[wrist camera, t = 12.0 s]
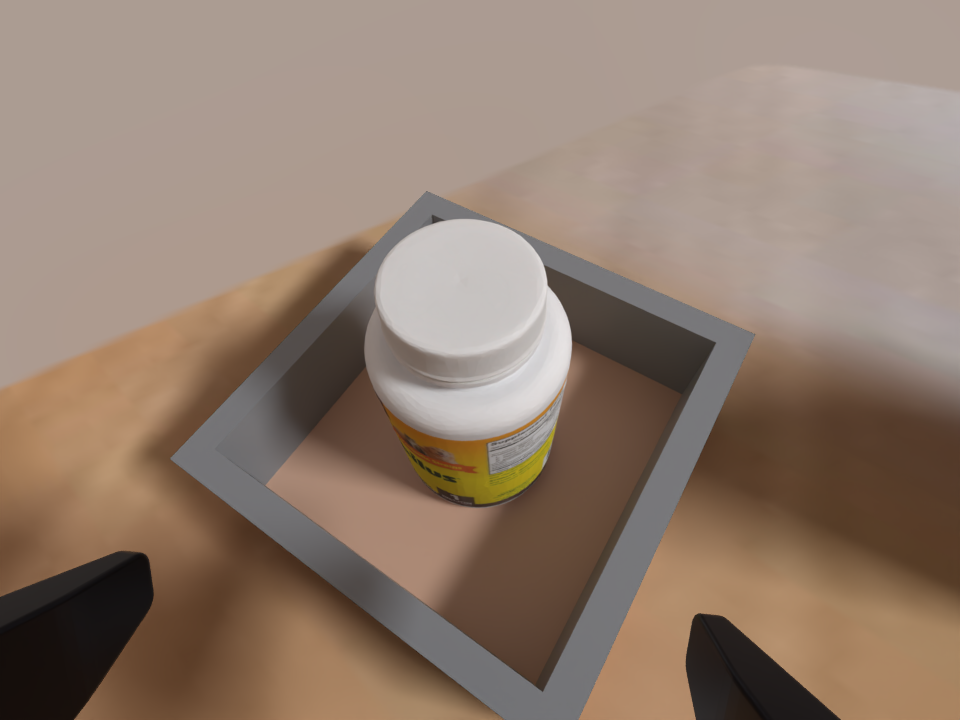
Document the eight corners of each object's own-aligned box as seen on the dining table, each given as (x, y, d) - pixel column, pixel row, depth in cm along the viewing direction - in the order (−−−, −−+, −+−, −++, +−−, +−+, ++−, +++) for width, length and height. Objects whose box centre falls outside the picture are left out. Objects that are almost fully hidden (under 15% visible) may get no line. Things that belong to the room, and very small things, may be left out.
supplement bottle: (386, 423, 21) (299, 253, 12) (500, 358, 22) (497, 162, 13) (455, 544, 19) (407, 440, 10) (579, 463, 20) (638, 306, 11)
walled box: (545, 734, 16) (559, 761, 12) (240, 500, 21) (169, 458, 16) (706, 397, 22) (755, 334, 18) (439, 267, 26) (426, 191, 22)
